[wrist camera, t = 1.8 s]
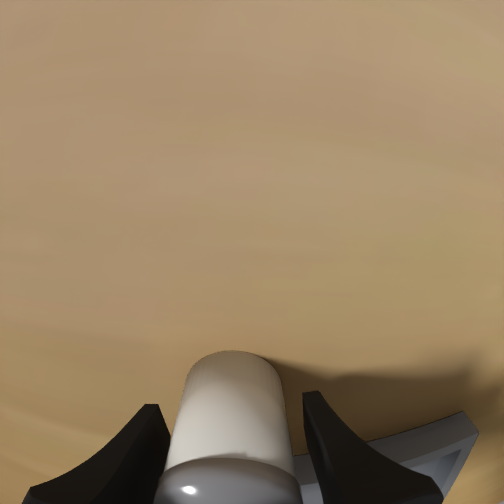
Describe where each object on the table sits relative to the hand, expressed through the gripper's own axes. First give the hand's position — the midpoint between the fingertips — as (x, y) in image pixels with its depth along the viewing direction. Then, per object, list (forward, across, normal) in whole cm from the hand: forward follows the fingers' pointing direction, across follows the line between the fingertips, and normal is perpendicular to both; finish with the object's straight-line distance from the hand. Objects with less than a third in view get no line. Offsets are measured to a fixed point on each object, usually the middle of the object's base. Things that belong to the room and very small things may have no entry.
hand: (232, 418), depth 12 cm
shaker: (+2, 0, 0) cm, 2 cm away
